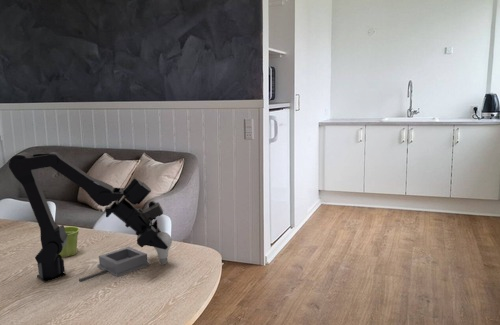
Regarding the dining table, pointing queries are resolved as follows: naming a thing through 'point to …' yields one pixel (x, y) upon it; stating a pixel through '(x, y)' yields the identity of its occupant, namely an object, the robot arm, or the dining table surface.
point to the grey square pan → (120, 262)
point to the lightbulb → (162, 252)
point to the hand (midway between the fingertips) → (166, 245)
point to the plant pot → (70, 242)
